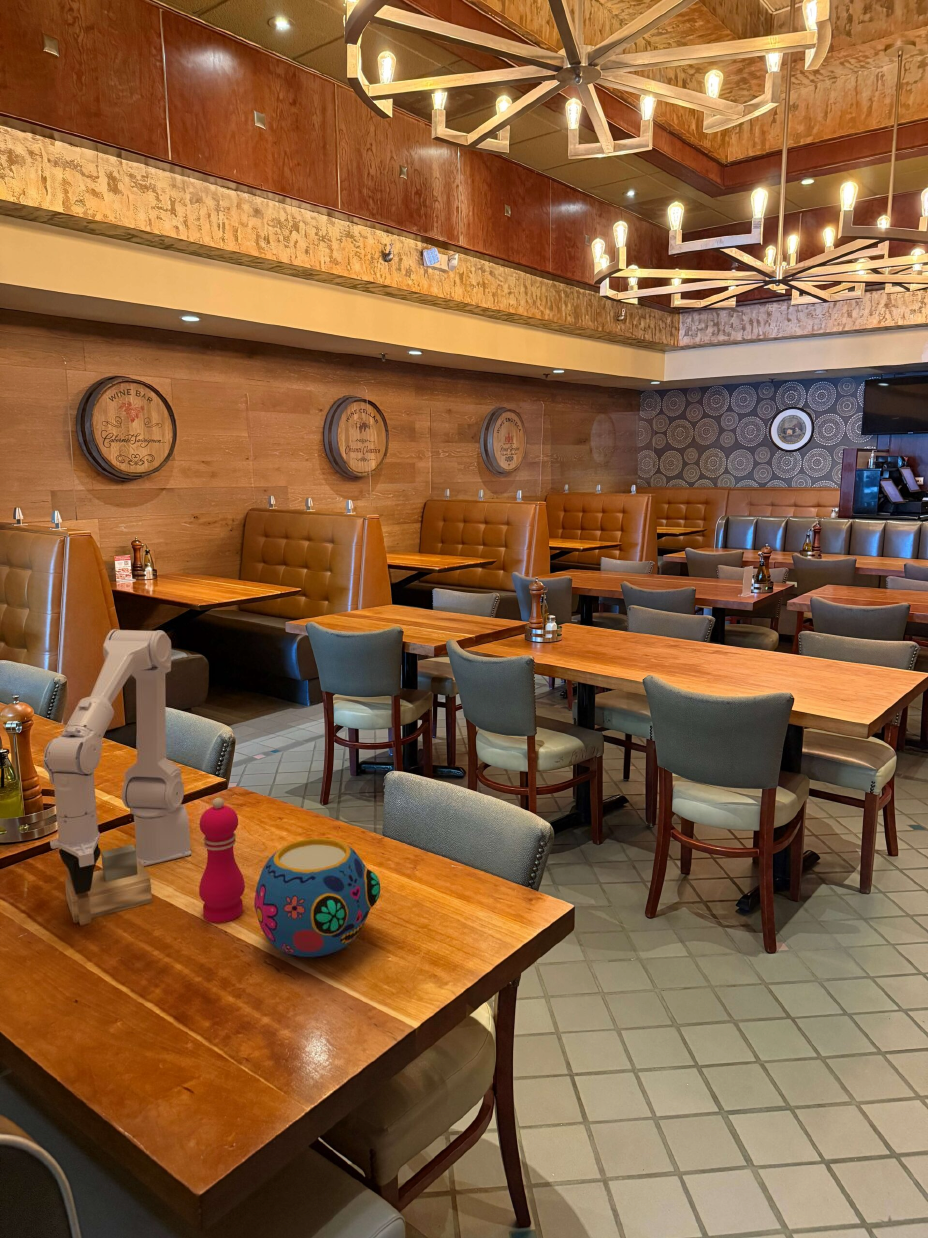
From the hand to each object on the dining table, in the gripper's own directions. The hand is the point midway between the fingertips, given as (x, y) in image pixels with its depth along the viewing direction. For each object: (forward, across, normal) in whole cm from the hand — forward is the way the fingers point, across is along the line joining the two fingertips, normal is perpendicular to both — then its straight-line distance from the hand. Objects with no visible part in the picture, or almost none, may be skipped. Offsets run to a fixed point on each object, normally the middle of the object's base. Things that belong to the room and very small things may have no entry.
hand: (82, 890), depth 130 cm
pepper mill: (+6, +10, +20) cm, 22 cm away
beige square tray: (+5, -4, +4) cm, 8 cm away
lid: (+2, -4, +4) cm, 7 cm away
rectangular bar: (+1, -6, 0) cm, 6 cm away
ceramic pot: (+6, +26, +28) cm, 39 cm away
